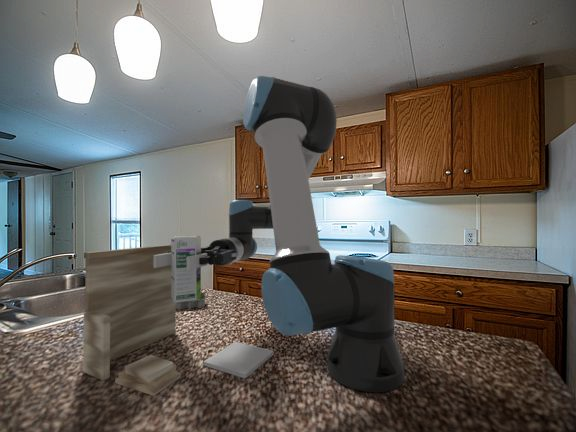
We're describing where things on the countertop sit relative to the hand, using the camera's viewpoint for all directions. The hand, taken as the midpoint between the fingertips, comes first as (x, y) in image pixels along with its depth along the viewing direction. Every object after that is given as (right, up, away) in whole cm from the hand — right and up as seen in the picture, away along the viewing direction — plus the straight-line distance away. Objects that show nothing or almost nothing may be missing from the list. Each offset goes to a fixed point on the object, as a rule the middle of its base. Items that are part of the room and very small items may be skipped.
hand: (171, 262), depth 60 cm
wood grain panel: (-9, -22, +6) cm, 24 cm away
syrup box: (+1, -9, +4) cm, 10 cm away
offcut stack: (-2, -22, -6) cm, 23 cm away
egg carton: (-10, -23, +41) cm, 48 cm away
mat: (+14, -22, +2) cm, 26 cm away
